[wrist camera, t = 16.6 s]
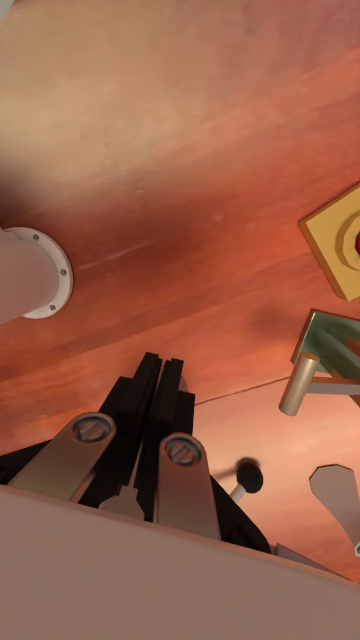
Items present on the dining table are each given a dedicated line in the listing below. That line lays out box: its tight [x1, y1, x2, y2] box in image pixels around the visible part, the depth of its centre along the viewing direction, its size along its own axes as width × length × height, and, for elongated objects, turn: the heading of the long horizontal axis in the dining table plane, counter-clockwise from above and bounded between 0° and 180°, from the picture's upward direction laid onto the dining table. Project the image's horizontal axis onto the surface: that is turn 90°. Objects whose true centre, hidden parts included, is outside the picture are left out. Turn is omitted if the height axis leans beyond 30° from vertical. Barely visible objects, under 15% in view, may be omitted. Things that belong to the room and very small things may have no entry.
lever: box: [279, 352, 360, 416], centre depth 24 cm, size 13×6×2 cm, turn 79°
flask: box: [310, 465, 360, 557], centre depth 38 cm, size 7×7×10 cm
